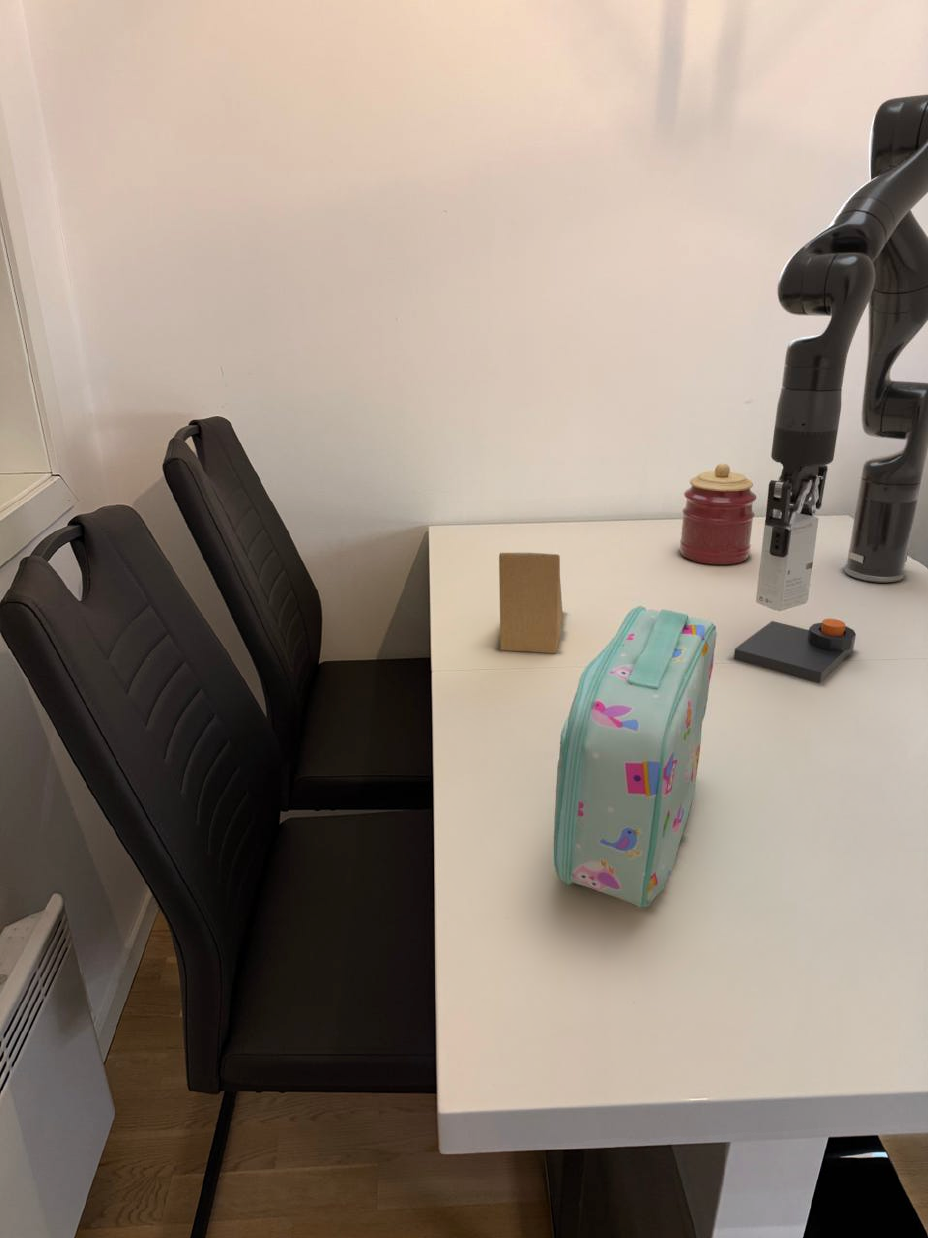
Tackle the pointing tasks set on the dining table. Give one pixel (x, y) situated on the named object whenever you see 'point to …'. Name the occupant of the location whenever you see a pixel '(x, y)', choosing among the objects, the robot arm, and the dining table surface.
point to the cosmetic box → (788, 566)
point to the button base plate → (796, 650)
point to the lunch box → (633, 755)
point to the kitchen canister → (718, 517)
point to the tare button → (833, 627)
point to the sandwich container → (530, 602)
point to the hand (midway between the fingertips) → (789, 548)
